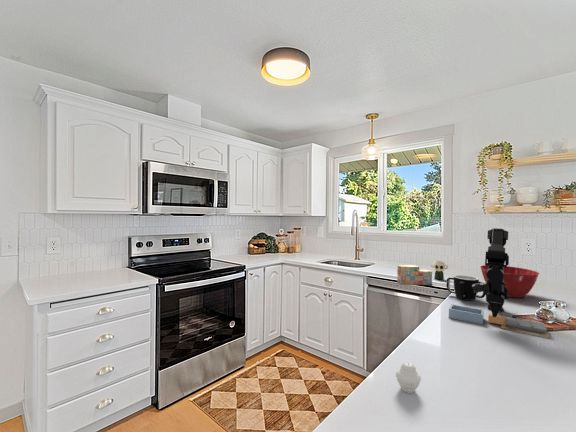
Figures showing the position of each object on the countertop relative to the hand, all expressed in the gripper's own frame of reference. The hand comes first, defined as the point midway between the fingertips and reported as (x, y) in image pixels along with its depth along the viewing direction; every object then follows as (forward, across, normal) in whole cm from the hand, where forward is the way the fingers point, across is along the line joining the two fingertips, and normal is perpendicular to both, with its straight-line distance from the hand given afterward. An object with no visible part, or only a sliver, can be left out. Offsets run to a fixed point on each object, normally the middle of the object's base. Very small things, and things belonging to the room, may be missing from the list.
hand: (494, 314), depth 129 cm
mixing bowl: (+4, -65, +7) cm, 66 cm away
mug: (+4, -38, -14) cm, 41 cm away
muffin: (+4, +75, -18) cm, 77 cm away
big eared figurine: (+4, -85, -33) cm, 92 cm away
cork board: (+4, 0, +10) cm, 11 cm away
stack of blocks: (+4, -57, -45) cm, 73 cm away
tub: (+4, 0, -10) cm, 11 cm away
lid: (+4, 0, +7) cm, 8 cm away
